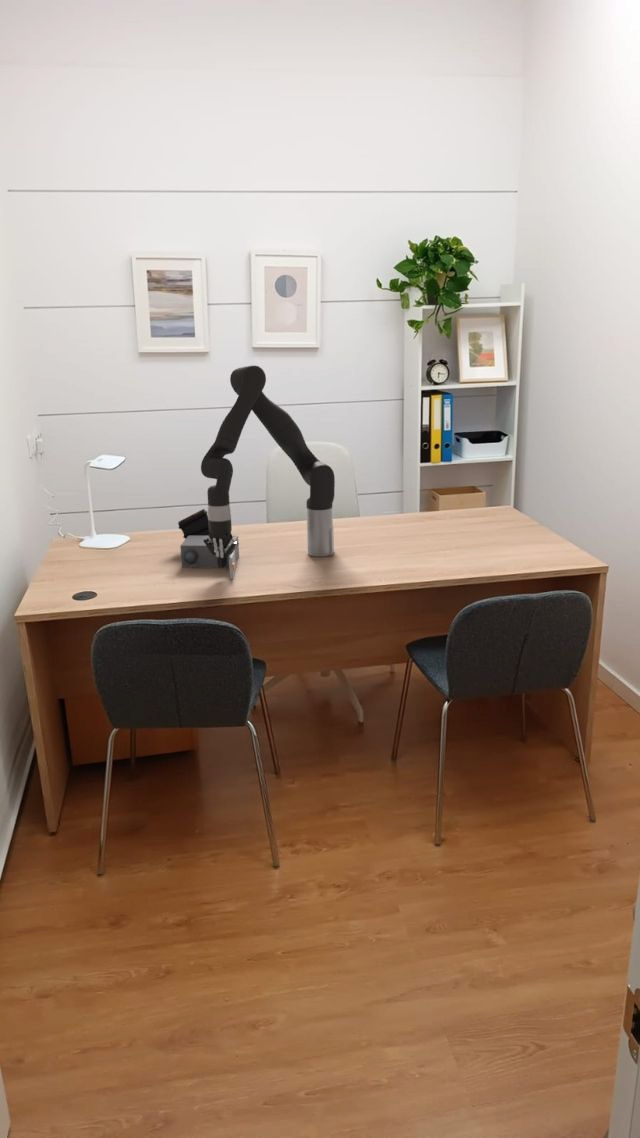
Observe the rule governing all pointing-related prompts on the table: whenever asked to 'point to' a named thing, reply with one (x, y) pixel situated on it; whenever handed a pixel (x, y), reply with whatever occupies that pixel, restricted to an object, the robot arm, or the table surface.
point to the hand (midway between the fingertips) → (222, 567)
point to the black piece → (195, 524)
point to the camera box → (201, 553)
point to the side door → (232, 564)
